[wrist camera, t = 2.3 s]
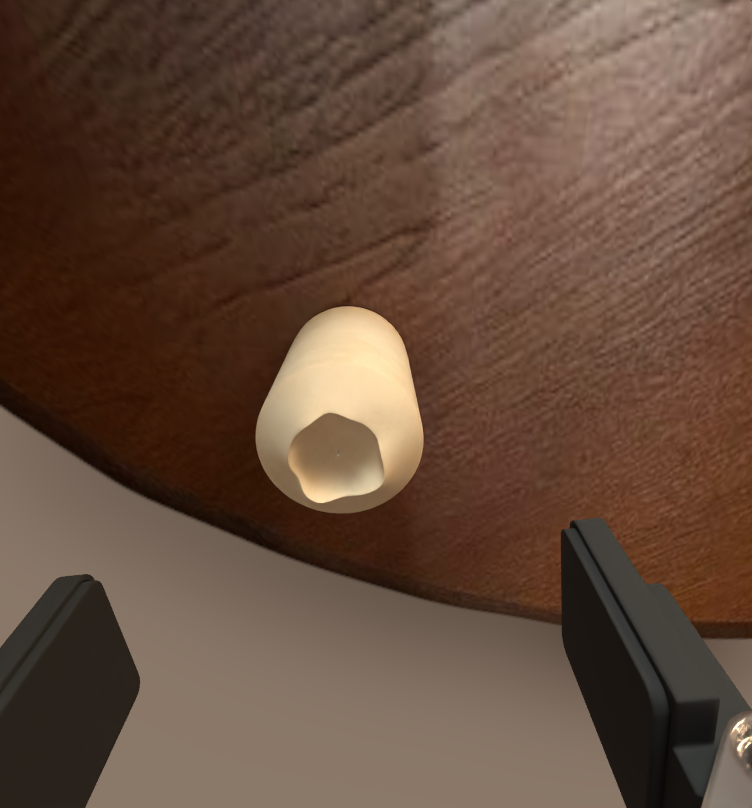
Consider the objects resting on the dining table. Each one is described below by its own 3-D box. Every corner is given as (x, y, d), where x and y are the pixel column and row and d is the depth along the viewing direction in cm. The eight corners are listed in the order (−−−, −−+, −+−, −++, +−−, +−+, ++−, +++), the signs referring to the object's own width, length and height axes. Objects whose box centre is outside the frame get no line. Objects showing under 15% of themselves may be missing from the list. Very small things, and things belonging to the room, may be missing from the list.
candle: (430, 344, 26) (463, 438, 16) (367, 435, 27) (365, 566, 18) (328, 281, 25) (302, 342, 15) (269, 379, 26) (214, 488, 17)
